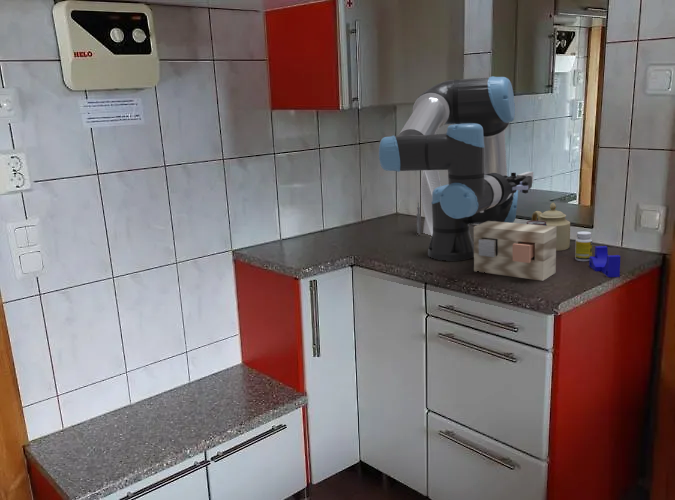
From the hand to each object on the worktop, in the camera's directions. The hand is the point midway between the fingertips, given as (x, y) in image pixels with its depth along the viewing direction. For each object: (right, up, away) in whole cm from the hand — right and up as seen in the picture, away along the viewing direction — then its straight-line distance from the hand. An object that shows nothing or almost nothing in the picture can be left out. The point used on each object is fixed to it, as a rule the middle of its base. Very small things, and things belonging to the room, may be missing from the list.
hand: (530, 177), depth 159 cm
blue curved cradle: (+27, -25, +19) cm, 41 cm away
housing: (+3, -25, +24) cm, 35 cm away
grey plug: (-2, -19, +26) cm, 32 cm away
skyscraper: (-13, -13, +78) cm, 80 cm away
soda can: (+12, -22, +34) cm, 43 cm away
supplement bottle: (+26, -22, +32) cm, 47 cm away
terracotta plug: (+5, -20, +18) cm, 28 cm away
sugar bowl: (+21, -17, +50) cm, 57 cm away
